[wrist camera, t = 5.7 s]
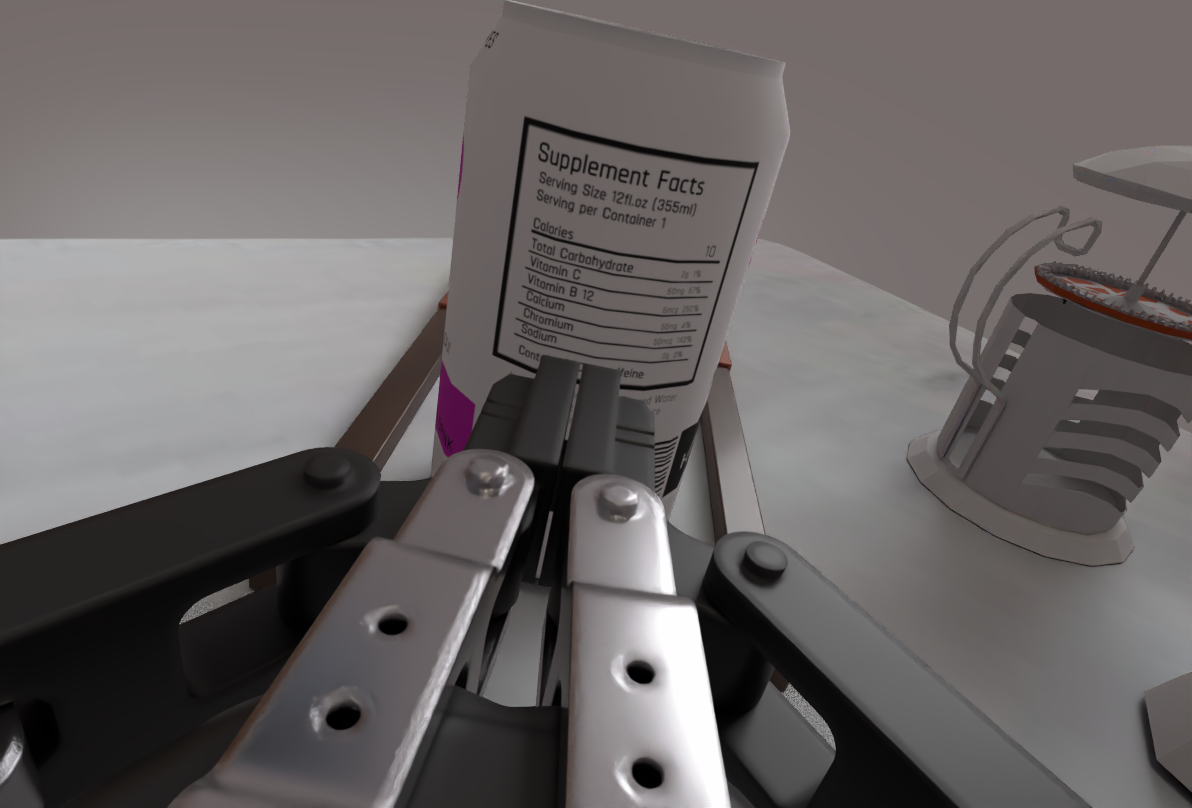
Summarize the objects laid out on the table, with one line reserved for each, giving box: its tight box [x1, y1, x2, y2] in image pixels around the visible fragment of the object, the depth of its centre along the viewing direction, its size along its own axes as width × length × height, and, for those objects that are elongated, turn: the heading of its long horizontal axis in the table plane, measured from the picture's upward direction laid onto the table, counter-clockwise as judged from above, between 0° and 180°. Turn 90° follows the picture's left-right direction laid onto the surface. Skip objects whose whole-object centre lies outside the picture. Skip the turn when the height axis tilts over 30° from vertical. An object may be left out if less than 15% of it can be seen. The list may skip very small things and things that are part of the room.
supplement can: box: [431, 0, 791, 579], centre depth 21 cm, size 8×8×15 cm
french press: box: [907, 146, 1192, 566], centre depth 26 cm, size 10×12×25 cm
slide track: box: [249, 292, 789, 692], centre depth 31 cm, size 15×28×1 cm, turn 176°
